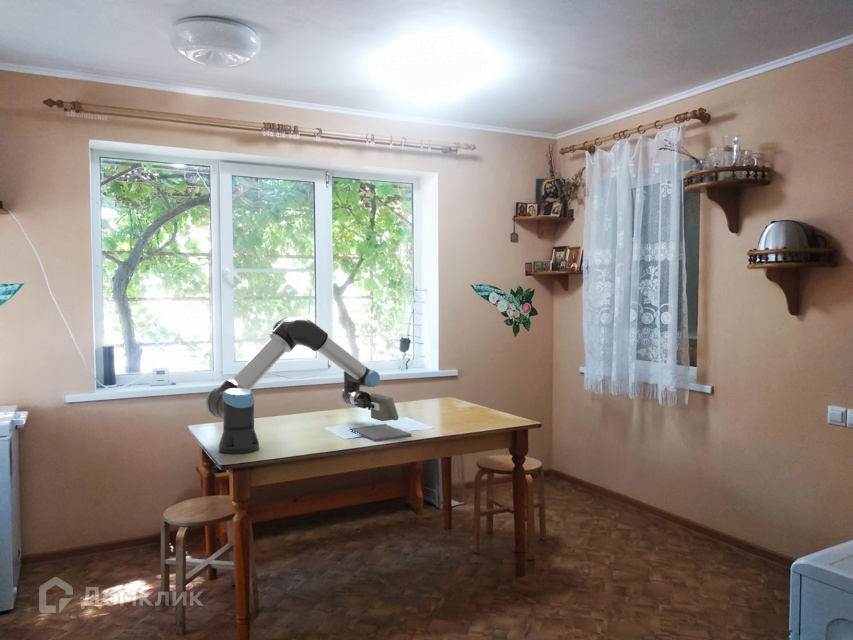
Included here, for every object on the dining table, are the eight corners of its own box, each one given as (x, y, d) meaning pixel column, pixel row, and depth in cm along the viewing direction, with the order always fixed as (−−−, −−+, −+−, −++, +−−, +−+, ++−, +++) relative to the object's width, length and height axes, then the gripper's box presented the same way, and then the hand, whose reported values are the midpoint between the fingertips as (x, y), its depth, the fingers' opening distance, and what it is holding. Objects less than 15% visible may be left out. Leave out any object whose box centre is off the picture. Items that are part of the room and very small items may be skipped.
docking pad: (374, 441, 249) (374, 438, 249) (349, 430, 270) (349, 427, 270) (411, 436, 259) (411, 433, 259) (384, 426, 279) (384, 423, 279)
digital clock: (400, 421, 259) (400, 396, 259) (380, 423, 255) (380, 398, 255) (385, 414, 274) (385, 391, 273) (367, 416, 270) (366, 392, 269)
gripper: (378, 405, 285) (403, 413, 266) (343, 409, 275) (366, 417, 256) (378, 389, 285) (402, 396, 265) (343, 392, 275) (366, 400, 255)
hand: (384, 406), depth 261 cm, fingers closed on digital clock, 5 cm apart
